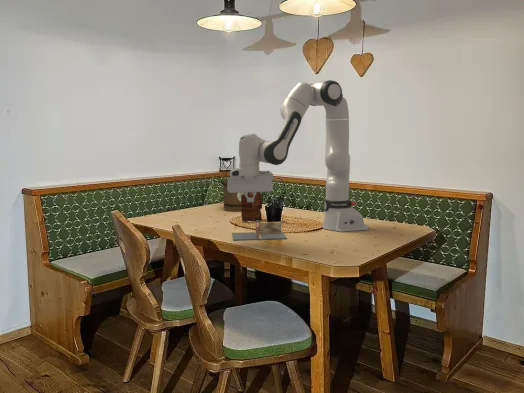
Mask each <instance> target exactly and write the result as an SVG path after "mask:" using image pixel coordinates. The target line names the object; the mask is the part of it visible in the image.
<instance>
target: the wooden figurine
mask: <svg viewBox="0 0 524 393" xmlns="http://www.w3.org/2000/svg"><path fill="white" fill-rule="evenodd" d="M247 196H248V197H249V198H253V196H254V195H253V192H248V195H247ZM262 196H263V195H262V192H256V195H255V197H254V202H247V198H246V196H245V195H244V194H242V196H241V204H242V209H241V211H240V212H241V213H240V214H241V220H242V222H243V221H255V222H256V220H260V221H261V220H262V219H263V217H262V208H263V200H262V199H263V197H262Z"/></svg>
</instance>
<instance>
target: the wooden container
mask: <svg viewBox="0 0 524 393" xmlns="http://www.w3.org/2000/svg"><path fill="white" fill-rule="evenodd" d="M228 179H229V178H225V179H223V210H224V211H226V212H233V213H234V212H237V213H239V212H241V209H242V204H241V196H242V194H244V192H239V193H229V192H228V191H227V185H228Z"/></svg>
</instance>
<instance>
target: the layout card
mask: <svg viewBox="0 0 524 393" xmlns="http://www.w3.org/2000/svg"><path fill="white" fill-rule="evenodd" d="M231 236H232V241H262V240H263V241H266V240H269V241H270V240H271V241H273V240H287V237H286V234H285V233H284V231H282V230H281V233H259V238H257V234H256V231H254V232H253V231H252V232H247V231H245V232H232V233H231Z"/></svg>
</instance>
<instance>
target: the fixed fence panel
mask: <svg viewBox="0 0 524 393" xmlns="http://www.w3.org/2000/svg"><path fill="white" fill-rule="evenodd" d="M260 221H261V220H256V221H255V227H256V226H257V222H259V233H281V231H282V221H270V222H269V221H267V222H266V221H264V222H262V221H261V222H260Z"/></svg>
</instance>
